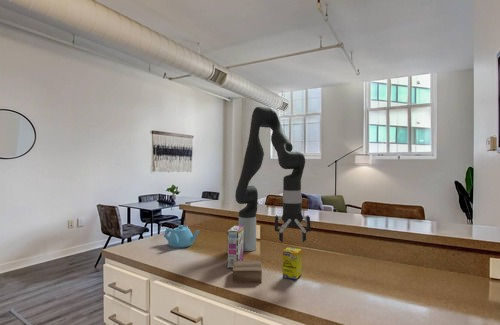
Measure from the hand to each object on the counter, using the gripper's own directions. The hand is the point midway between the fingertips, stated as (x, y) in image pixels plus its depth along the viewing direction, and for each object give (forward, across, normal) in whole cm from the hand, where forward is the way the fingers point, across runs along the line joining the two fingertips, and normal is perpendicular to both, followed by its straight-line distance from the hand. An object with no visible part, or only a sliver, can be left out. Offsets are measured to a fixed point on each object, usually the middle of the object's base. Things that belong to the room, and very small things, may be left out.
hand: (292, 241), depth 117 cm
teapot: (+14, +57, -42) cm, 72 cm away
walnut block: (+14, +18, +1) cm, 23 cm away
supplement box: (+14, 0, 0) cm, 14 cm away
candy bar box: (+14, +24, -13) cm, 31 cm away
